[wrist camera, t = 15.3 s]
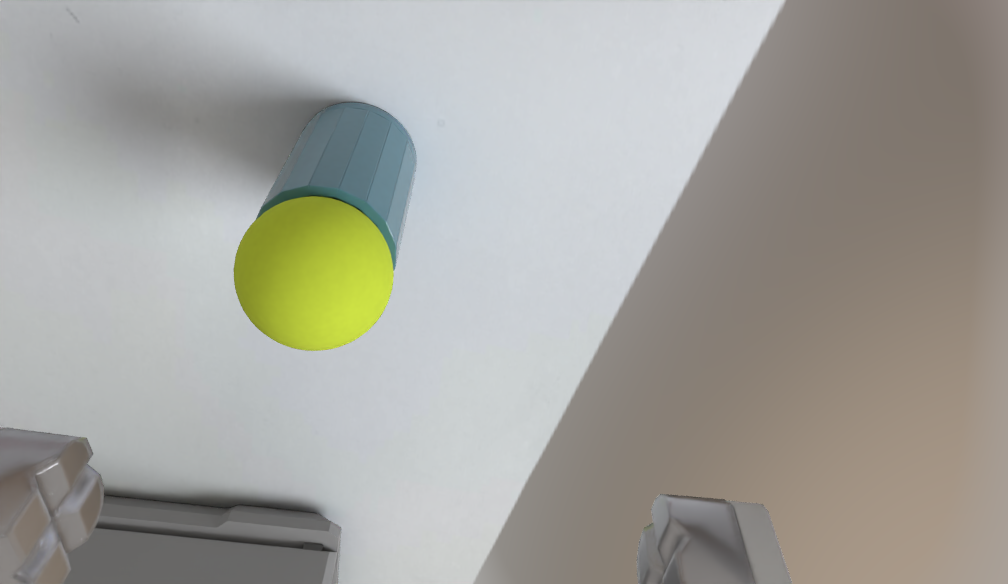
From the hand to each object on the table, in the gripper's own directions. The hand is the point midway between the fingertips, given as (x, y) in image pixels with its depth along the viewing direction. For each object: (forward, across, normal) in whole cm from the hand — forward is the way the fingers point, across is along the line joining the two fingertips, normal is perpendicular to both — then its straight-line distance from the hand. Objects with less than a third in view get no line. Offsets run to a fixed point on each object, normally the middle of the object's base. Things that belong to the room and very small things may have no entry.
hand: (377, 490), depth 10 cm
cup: (+28, +6, +9) cm, 30 cm away
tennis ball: (+18, +5, +9) cm, 20 cm away
